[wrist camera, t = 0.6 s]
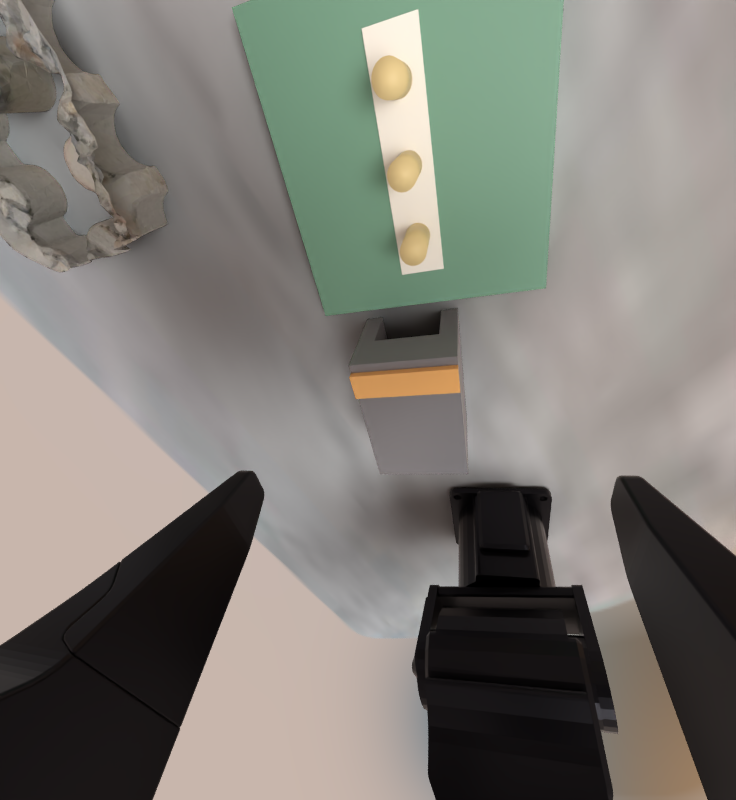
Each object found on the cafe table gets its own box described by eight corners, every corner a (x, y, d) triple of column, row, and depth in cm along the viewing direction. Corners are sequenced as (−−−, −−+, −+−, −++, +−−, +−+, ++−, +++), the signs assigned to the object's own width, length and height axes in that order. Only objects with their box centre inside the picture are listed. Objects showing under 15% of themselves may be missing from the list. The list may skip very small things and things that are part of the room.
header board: (541, 277, 17) (556, 311, 14) (331, 305, 20) (312, 337, 17) (561, -108, 11) (595, -175, 8) (247, 13, 13) (196, -6, 11)
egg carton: (195, 224, 19) (143, 251, 16) (88, 260, 21) (24, 289, 18) (21, -106, 13) (-121, -169, 10) (-101, -3, 15) (-246, -27, 12)
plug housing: (466, 416, 23) (468, 478, 19) (391, 419, 24) (379, 478, 20) (458, 307, 19) (457, 360, 15) (367, 318, 20) (347, 369, 16)
